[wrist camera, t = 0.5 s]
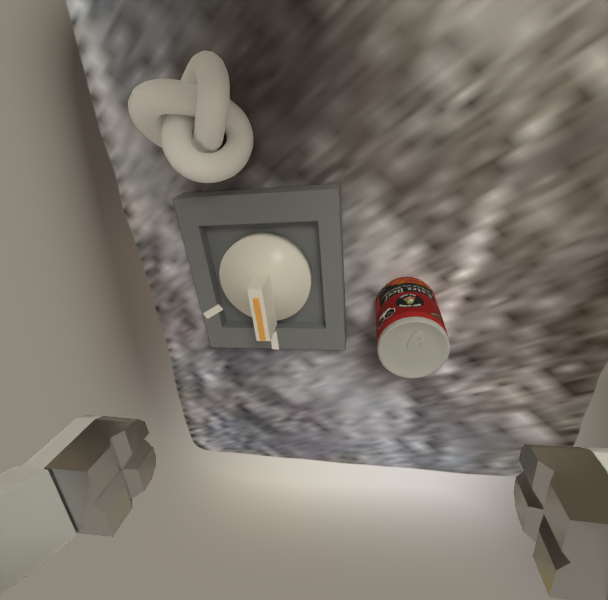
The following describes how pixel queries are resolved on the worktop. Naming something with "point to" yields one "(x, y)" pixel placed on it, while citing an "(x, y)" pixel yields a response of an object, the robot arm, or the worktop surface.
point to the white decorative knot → (195, 120)
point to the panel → (281, 220)
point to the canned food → (410, 329)
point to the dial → (266, 279)
